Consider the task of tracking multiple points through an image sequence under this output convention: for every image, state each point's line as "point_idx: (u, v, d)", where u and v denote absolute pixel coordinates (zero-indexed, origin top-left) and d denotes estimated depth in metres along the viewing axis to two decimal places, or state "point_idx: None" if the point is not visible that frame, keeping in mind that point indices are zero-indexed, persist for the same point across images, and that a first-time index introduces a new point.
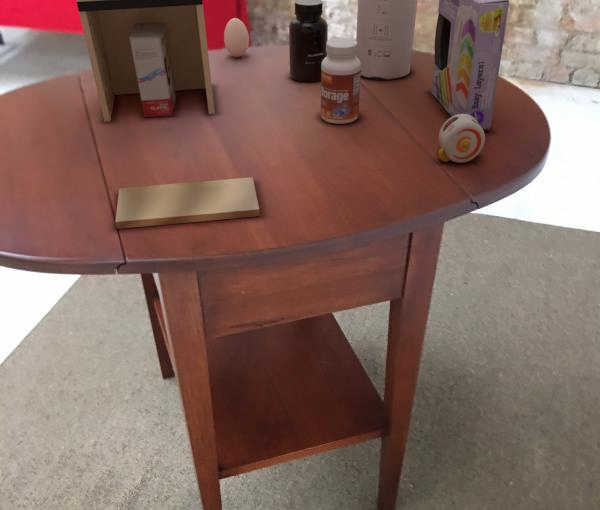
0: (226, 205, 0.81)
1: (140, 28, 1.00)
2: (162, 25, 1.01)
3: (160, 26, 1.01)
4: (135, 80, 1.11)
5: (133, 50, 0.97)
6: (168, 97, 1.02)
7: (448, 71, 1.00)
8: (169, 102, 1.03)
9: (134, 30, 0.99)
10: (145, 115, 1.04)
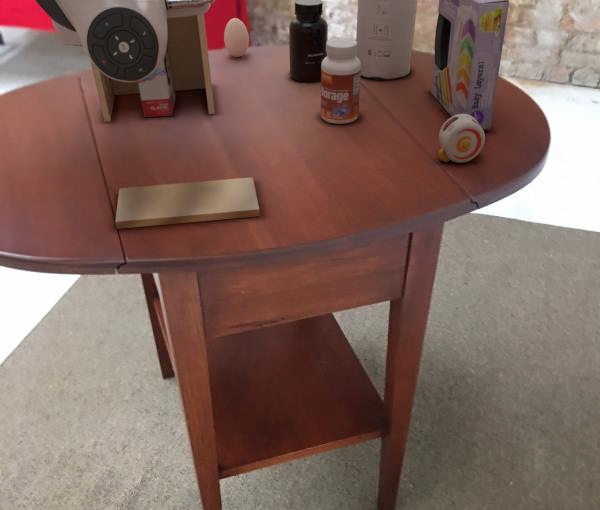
0: (226, 205, 0.81)
1: None
2: None
3: None
4: None
5: None
6: (168, 97, 1.02)
7: (448, 71, 1.00)
8: (169, 102, 1.03)
9: None
10: (145, 115, 1.04)
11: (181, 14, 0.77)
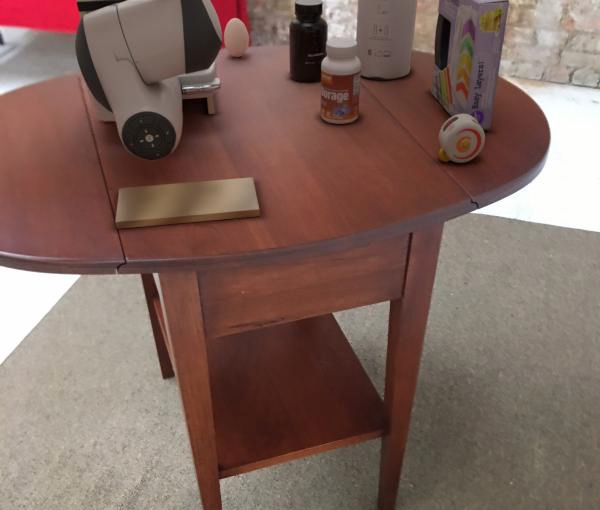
0: (226, 205, 0.81)
1: None
2: None
3: None
4: None
5: None
6: None
7: (448, 71, 1.00)
8: None
9: None
10: None
11: (193, 96, 0.96)
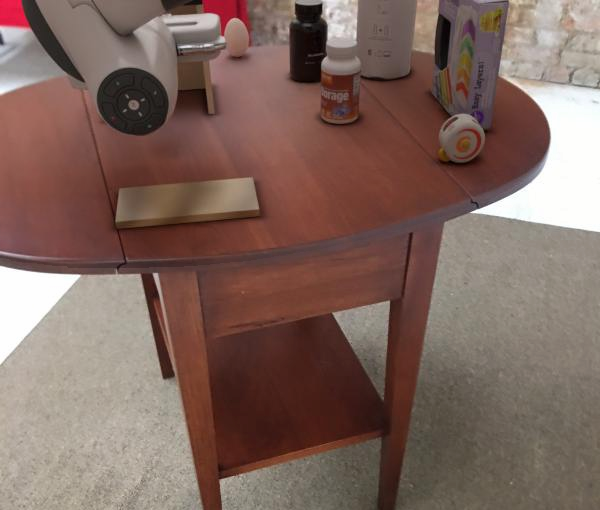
0: (226, 205, 0.81)
1: None
2: None
3: None
4: None
5: None
6: None
7: (448, 71, 1.00)
8: None
9: None
10: None
11: (192, 59, 0.77)
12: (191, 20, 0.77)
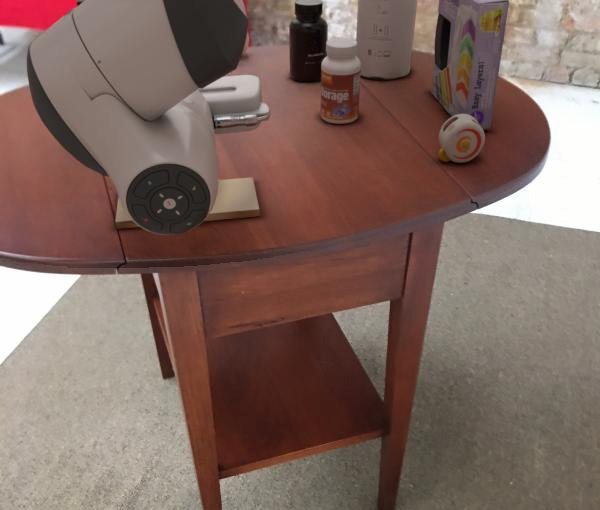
0: (226, 205, 0.81)
1: None
2: None
3: None
4: None
5: None
6: None
7: (448, 71, 1.00)
8: None
9: None
10: None
11: (230, 131, 0.66)
12: (228, 84, 0.67)
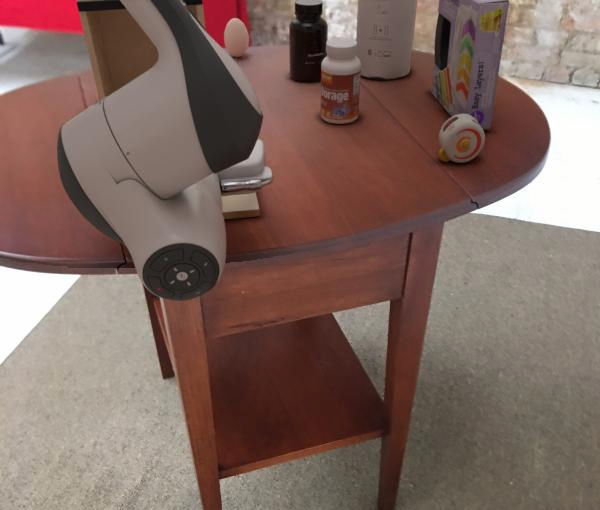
0: (226, 205, 0.81)
1: None
2: None
3: None
4: None
5: None
6: None
7: (448, 71, 1.00)
8: None
9: None
10: None
11: (236, 193, 0.71)
12: None
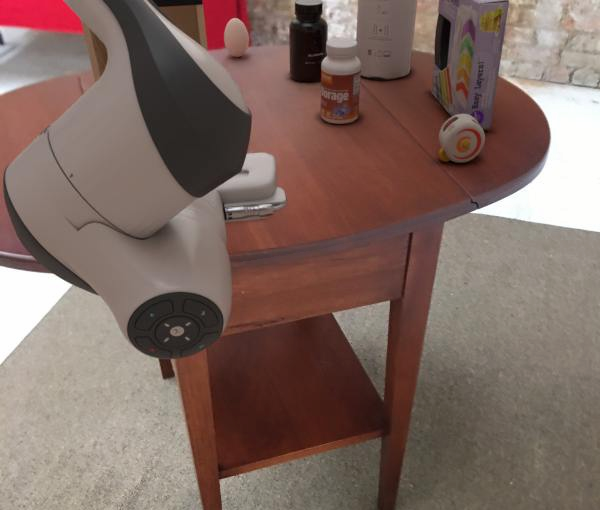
0: None
1: None
2: None
3: None
4: None
5: None
6: None
7: (448, 71, 1.00)
8: None
9: None
10: None
11: (242, 219, 0.59)
12: None
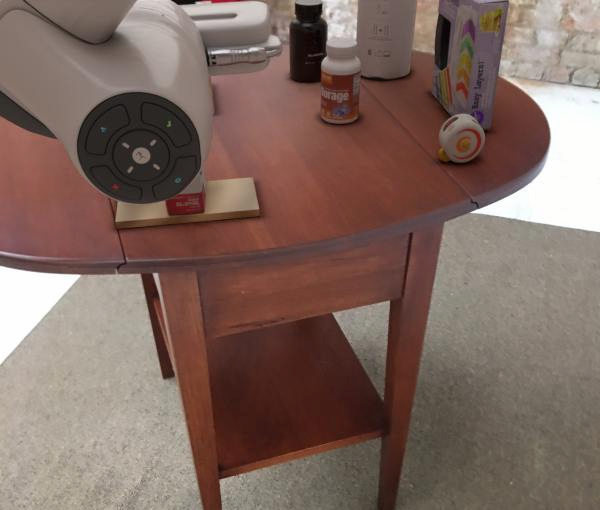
0: (226, 205, 0.81)
1: None
2: None
3: None
4: None
5: None
6: (200, 191, 0.77)
7: (448, 71, 1.00)
8: (201, 196, 0.78)
9: None
10: (169, 212, 0.79)
11: (229, 71, 0.50)
12: (227, 11, 0.51)
